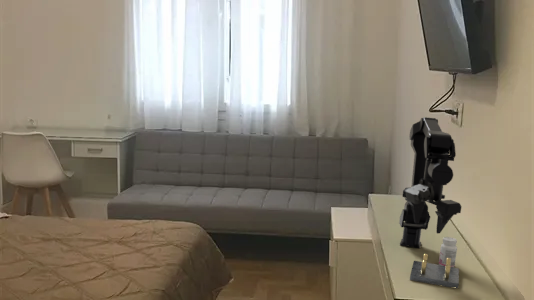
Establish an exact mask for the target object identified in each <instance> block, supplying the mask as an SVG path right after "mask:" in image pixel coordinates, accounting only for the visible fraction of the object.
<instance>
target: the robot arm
mask: <svg viewBox="0 0 534 300" xmlns="http://www.w3.org/2000/svg"><path fill="white" fill-rule="evenodd" d="M452 137H453V136H452V135H451V134H450V133H447V132H445V131H442V129H441V127H440V125H439V120H438V118H435V117H427V116H426V117H425V116H424V117H421V118H420V120H419V121H417V122H416V123H413V124H412V126H411V128H410V130H409V140H410V146H411V149H412V150H413V152H414V158H413V165H412V166H413V167H412V168H413V169H412V175H411V176H412V179H411V187H410V186H409V187H405V188H404V189H403V190H402V198H404V200H405V203H404V205H403V206H404V207H403V209H402V211H401V214H400V216H399V222H398V224H399V226H400V228H403V230H402V232H403V233H402V238H401V239H400V243H399V246H404V247H409V248H415V249H421V244H422V242H421V235H422V234H421V233H422V230H426V231H427V229H428V227H429V223H430V219H431V216H430V212H429V206H428V204H427V203H429V204H431V205H435V206H436V207H435V208H436V211H434V212H435V214H436V216H437V219H436V234H441V233H442V231H443V230H444V228H445V227H446V226H447V224H448V222H449V221H450V220H451V219H452V218H453V217H454V216H455V215H457V214H461V211H462V205H461V203H460V202H457V201H454V200H452V199H446V194H443V191H444V186H447V185H448V184H449V183H450V182H451V181H452V180H453V178H454V172H453V169H452V167H450V165H449V161H451V162H452V161H453V162H454V161H455V157H456V156H457V155H456V143H455V142H454V141H455V140H454V139H453V138H452ZM445 199H446V200H445ZM426 202H427V203H426Z"/></svg>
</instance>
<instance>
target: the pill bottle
mask: <svg viewBox="0 0 534 300" xmlns="http://www.w3.org/2000/svg"><path fill="white" fill-rule="evenodd" d="M457 242H458V240H457V238H456V237H455V238H454V237H450V236H444V237H442V243H441V245H440V251H439V257H438V265H442V266H446V260H447V258H451V263H450V266H451V267H453V268H455V265H456V260H457V259H456V258H457V251H458V246H457Z"/></svg>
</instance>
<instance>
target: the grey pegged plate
mask: <svg viewBox="0 0 534 300" xmlns="http://www.w3.org/2000/svg"><path fill="white" fill-rule="evenodd" d="M428 257H429V255H428V253H424V254H423V258H422V261H418V260H413V262H412V263H413V264H412V267H411V271H410V276H409V280H410V281H414V282H421V283H426V284H430V285H435V284H436V286H440V285H442V286H441V287H446V288H451V287H456V288H458V289H459V284H460V282H459V281H460V279H459V278H460V268H459V267H451V266H450V263H451V258H447V260H446V266H442V265H439V264H436V263H430V262H428ZM456 288H455V289H456Z"/></svg>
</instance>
